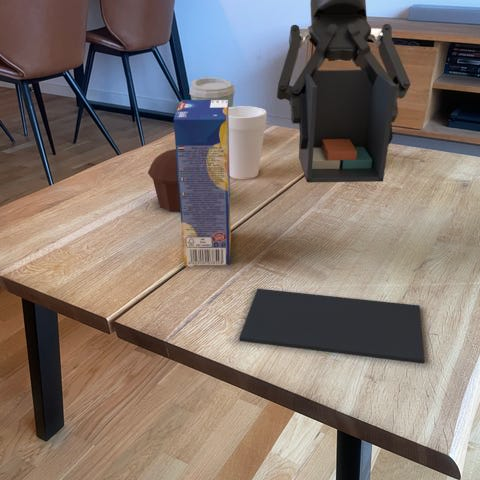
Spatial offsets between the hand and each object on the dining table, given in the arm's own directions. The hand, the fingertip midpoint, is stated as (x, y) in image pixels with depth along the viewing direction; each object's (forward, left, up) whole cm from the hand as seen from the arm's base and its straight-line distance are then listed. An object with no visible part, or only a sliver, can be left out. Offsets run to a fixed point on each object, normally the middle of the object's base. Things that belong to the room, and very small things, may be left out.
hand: (345, 143), depth 73 cm
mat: (-1, +15, -19) cm, 24 cm away
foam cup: (+22, -38, -19) cm, 48 cm away
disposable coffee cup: (+33, -56, -19) cm, 68 cm away
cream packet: (+3, -4, -4) cm, 6 cm away
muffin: (+30, -20, -19) cm, 41 cm away
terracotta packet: (+1, -4, -3) cm, 5 cm away
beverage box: (+20, -2, -19) cm, 28 cm away
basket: (+1, -3, -5) cm, 5 cm away
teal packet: (-1, -5, -4) cm, 6 cm away
